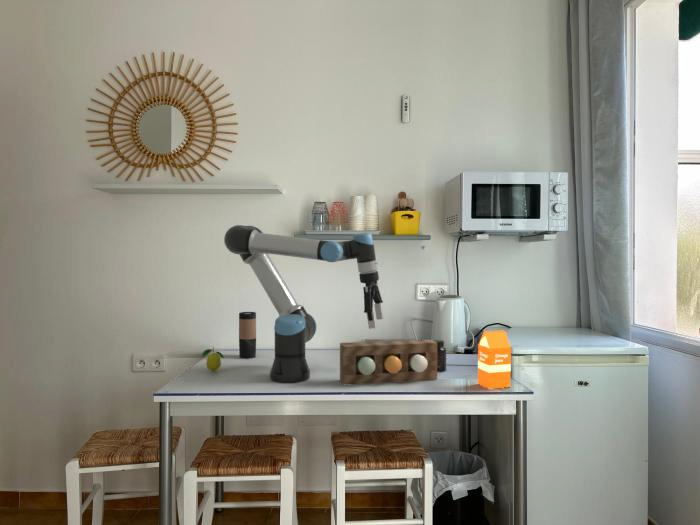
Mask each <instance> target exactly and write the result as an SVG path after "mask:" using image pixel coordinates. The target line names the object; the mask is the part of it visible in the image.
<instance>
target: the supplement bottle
mask: <svg viewBox="0 0 700 525" xmlns="http://www.w3.org/2000/svg"><path fill="white" fill-rule="evenodd" d="M432 340H433V341H435V342H437V373H441V372H446V370H447V349H446V347H445V341H444V340H442V339H432Z"/></svg>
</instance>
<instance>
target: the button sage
mask: <svg viewBox="0 0 700 525" xmlns="http://www.w3.org/2000/svg"><path fill="white" fill-rule="evenodd" d="M357 367H358V369H359V371H360V372H361V373H362V374H364V375H370V374H372V373H373V372H374V370H375V363H374V361H373V360H372V359H371V358H369V357H362V358H361V359H360V360H359V361H358V363H357Z"/></svg>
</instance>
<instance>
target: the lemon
mask: <svg viewBox="0 0 700 525" xmlns="http://www.w3.org/2000/svg"><path fill="white" fill-rule="evenodd" d="M212 351H213V352H212ZM210 353H211V354H210ZM208 354H209V355H208ZM206 355H208V356H207V358H206V362H205V363H206V367H207V369H208V370H209V371H212V372H213V373H215V372H216V371H217V370H219V369H220V367H221V364H222V361H221V358H222V359H225V357H224V355H223V353H221V352H220V351H215V347H214V346H213V347H212V348H211V349H210V348H209V349H205V350H204V351H203V352H202V353H201V357H203V356H206Z"/></svg>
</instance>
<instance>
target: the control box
mask: <svg viewBox="0 0 700 525" xmlns="http://www.w3.org/2000/svg"><path fill="white" fill-rule="evenodd" d="M433 340H434V339H410V340H409V339H408V340H406V339H405V340H385V341H384V340H383V341H359V342H357V341H355V342H340V343H339V345H340V346H339V381H340V380H341V381H340V382H341V384H342V385H343V384H352V385H365V384H366V385H367V384H369V385H370V384H385V383H388V384H389V383H401V382H402V383H403V382H421V381H437V380H438V372H437V342H435V341H433ZM416 354H419V355H421V356H423V357H425V358H426V360H427V362H428V365H427V368H426V369H425V370H424V371H423V372H416V371H415V370H413V369H412V368H411V367H410V359H411V357H412V356H413V355H416ZM391 355H392V356H396V357H397V358H398V359H400V361H401V363H402V367H401V369H400V371H399V372H397V373H395V374H392V373H390V372H388V371H387V370H386V369H385V367H384V360H385V359H386V358H387V357H388V356H391ZM362 357H369V358H371V359H372V360H373V361H374V363H375V370H374V372H373V373H372V374H370V375H364V374H362V373H361V372H360V371H359V369H358V367H357V363H358V361H359V360H360V359H361V358H362Z"/></svg>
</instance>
